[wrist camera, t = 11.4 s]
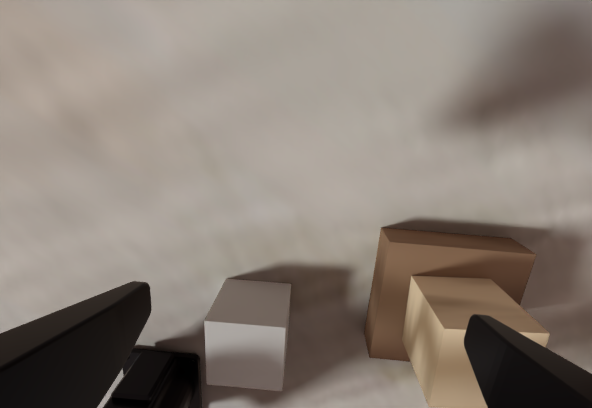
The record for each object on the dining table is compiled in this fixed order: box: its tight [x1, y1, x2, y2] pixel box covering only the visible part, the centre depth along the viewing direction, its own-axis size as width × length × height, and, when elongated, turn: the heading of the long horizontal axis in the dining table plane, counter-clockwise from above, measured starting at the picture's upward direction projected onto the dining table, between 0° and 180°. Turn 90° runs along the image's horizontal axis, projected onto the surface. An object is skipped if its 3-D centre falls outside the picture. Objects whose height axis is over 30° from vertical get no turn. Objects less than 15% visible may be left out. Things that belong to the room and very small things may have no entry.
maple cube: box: [402, 276, 550, 408], centre depth 18 cm, size 5×5×5 cm
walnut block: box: [364, 228, 536, 362], centre depth 22 cm, size 9×9×3 cm
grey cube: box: [204, 279, 291, 391], centre depth 22 cm, size 5×5×5 cm
